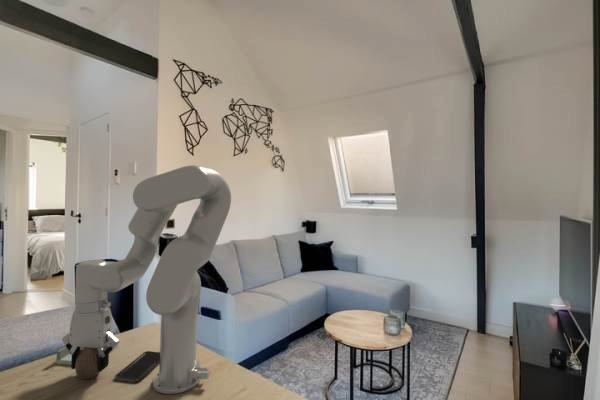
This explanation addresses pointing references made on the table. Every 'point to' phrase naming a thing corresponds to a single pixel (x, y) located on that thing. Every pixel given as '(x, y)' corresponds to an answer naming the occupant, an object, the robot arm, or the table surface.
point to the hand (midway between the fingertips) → (90, 367)
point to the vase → (87, 363)
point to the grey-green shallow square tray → (66, 358)
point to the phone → (139, 367)
